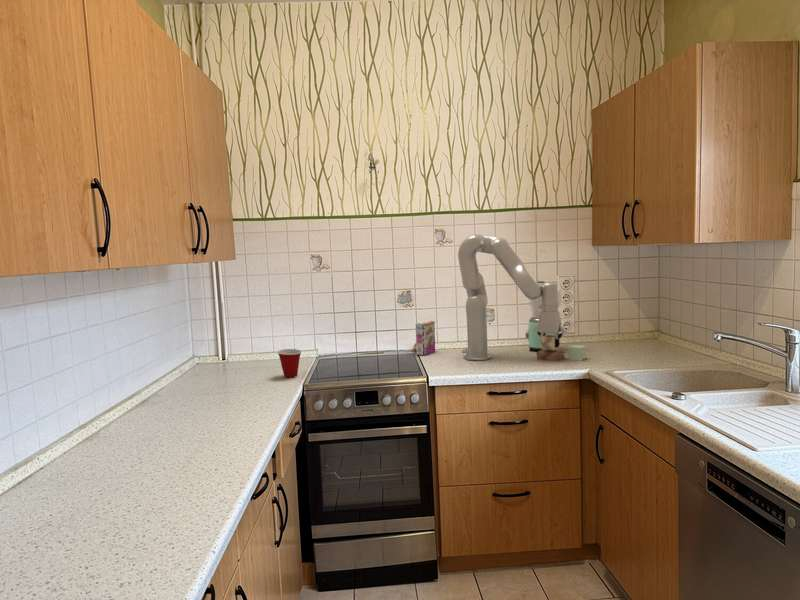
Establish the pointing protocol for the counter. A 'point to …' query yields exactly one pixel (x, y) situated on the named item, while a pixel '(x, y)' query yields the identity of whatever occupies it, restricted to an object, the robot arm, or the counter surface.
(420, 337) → the candy bar box
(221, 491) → the counter surface
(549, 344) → the ash block
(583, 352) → the sage painted block
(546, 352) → the walnut base block
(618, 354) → the counter surface
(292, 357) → the plastic cup
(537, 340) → the mint green blender
